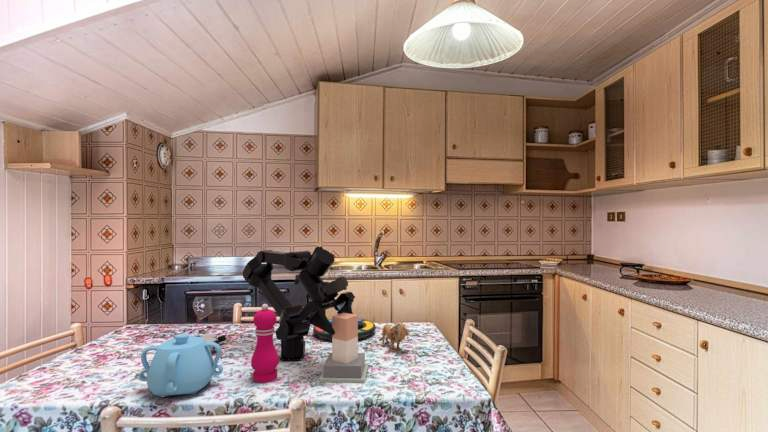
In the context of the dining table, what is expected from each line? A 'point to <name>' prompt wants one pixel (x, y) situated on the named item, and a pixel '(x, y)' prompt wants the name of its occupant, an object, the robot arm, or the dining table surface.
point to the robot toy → (213, 339)
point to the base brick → (345, 370)
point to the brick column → (345, 337)
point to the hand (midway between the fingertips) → (344, 330)
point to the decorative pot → (180, 365)
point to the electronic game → (363, 332)
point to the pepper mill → (264, 347)
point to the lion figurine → (394, 335)
